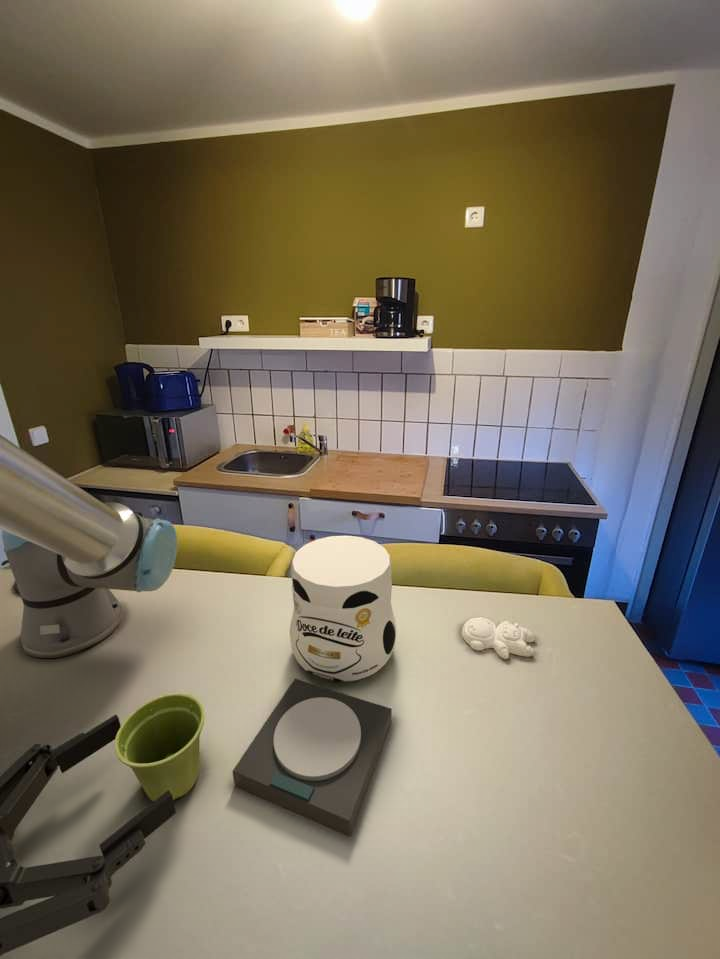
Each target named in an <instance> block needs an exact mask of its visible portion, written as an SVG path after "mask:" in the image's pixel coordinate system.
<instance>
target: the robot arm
mask: <svg viewBox="0 0 720 959" xmlns="http://www.w3.org/2000/svg"><path fill="white" fill-rule="evenodd" d="M0 530H1V539H2V543H3V552H4V553H5V556H6V558H7V559H6V560H3V561H2V562H1V566H5V565H7V564H9V567H10V570H11V573H12V575H13V577H14V580H15V581H14V583H13V588H14V590H15V591H16V592H17V593H19V595H20V597H21V600H22V601H21V602H22V604H23V610H22V618H21V629H20V642H21V646H22V648H23V650H24V652H25V653H26V654H28V656H31V657H33V658H39V659H54V658H61V657H66V656H70V655H73V654H77V653H79V652H82V651H84V650H86V649H89V648H90V647H93V646H95V645H96V644H98V643H100V642H102V641H103V640H105V639H106V638H107V637H109V636H110V635H111V634H112V633H113V632H114V631H115V630H116V629H117V628H118V626H119V625H120V623H121V621H122V619H123V610H122V606H121V604H120V602H119V600H118V598H117V597H116V595H115V594H114V593H113V592H112V591H111V590H117V591H130V592H136V593H142V592H154V591H158V590H159V589H160V588H162V587H163V586H164V585H165V583H167V581H168V579H169V578H170V577H171V574H172V572H173V569H174V566H175V564H176V559H177V555H178V554H177V553H178V534H177V531H176V528H175V526H174V525H173V523H172V522H170V521H169V520H166V519H162V518H159V517H157V518H155V519H152V518H146V517H143V516H141V515H140V514H138V513H137V512H136V511H134V510H133V509H132V508H130V507H129V506H127V505H125V504H123V503H119V502H115V501H114V502H113V501H112V502H109V501H108V502H102V501H100V500H99V499H97V498H96V497H94V496H93V495H92V494H90V493H88V492H87V491H85V490H84V489H82V488H81V487H80V486H78V485H77V484H75V483H73V482H72V481H70V480H69V479H67V478H66V477H65V476H63V475H61V474H60V473H58V472H57V471H55V469H52V468H50V466H48V465H46V464H44V463H43V462H42V461H40V460H39V459H38V458H36V457H35V456H33V455H31V454H30V453H29V452H27V451H25V450H24V449H22V448H21V447H20V446H18V445H16V444H15V443H13V442H12V441H10V440H9V439H8V438H6V437H5V436H3V435H2V434H0ZM121 725H122V724H121V721H120V718H119V716H118V715H117V714H114V715H113V716H111V717H110V718H108V719H106V720H104V721H103V722H101V723H100V724H98V725H96V726H95V727H93V728H91V729H90V730H88V731H87V732H81V733H79V734H76V735H75V736H73V737H72V738H70V739H69V740H67V741H65V742H64V743H62V744H60V745H59V746H57V747H55V748H53V749H52V746H51V744H44V745H42V744H40V743H36V744H34V745H31V747H29V748H28V749H27V750H26V751H25V752H24V753H23V754H22V755H21V756H20V757H18V758H17V760H15V761H14V762H13V763H12V764H11V765H10V766H9V767H7V769H6V770H5V771H4V772H3V773H2V774H0V910H2V909H9V908H14V907H15V908H16V907H19V906H23V905H24V903H25V902H27V901H33V900H39V899H44V900H42V901H38V902H37V903H33V904H32V905H29V906H27V907H24V908H23V909H19V910H17V911H14V912H12V913H9V914H7V915H5V916H2V917H1V918H0V957H1V956H3V955H4V954H6V953H9V952H11V951H14V950H17V949H19V948H21V947H23V946H26V945H27V944H30V943H32V942H34V941H37V940H40V939H42V938H44V937H46V936H48V935H51V934H53V933H56V932H57V931H60V930H62V929H65V928H67V927H69V926H72V925H74V924H76V923H79V922H81V921H83V920H85V919H87V918H90V917H92V916H95V915H98V914H100V913H102V912H103V911H105V910H106V909H107V908H108V906H109V904H110V901H111V897H110V888H111V886H112V882H113V880H112V877H113V876H114V874H115V873H117V872H118V871H119V870H120V869H121V868H122V867H123V866H125V864H127V863H128V862H129V861H130V860H131V859H133V858H134V857H135V856H136V855H137V854H139V853H140V852H141V851H142V850H143V849H144V847H146V844H147V843H146V839H147V838H148V837H149V836H151V835H152V834H153V833H154V832H155V831H156V830H158V829H159V828H160V827H161V826H162V825H164V824H165V823H166V822H167V821H169V819H171V818H172V817H173V816H174V815H176V814H177V809H176V806H175V802H174V801H175V800H173V797H172V794H171V793H170V791H169V790H168V791H167V792H165V793H164V794H163V795H161V796H160V797H159V798H158V799H156V800H155V801H152V802H151V803H150V804H149V805H147V806H146V807H145V808H143V809H142V810H141V811H140V812H139V813H138V814H136V815H135V816H133V817H132V818H131V819H129V821H128V822H126V823H125V824H123V825H122V826H121V827H120V828H118V829H117V830H115V832H113V833H112V834H111V835H110V836H108V837H107V838H106V839H105V840H103V841H102V842H101V843H100V844H98V845H99V848H100V851H101V854H102V855H95V856H90V857H84V858H78V859H77V858H76V859H70V860H64V861H59V862H53V863H45V864H39V865H33V866H27V867H25V866H22V865H20V864H18V862H17V860H16V857H15V850H14V847H13V845H12V842H11V841H12V840H13V838H14V836H15V831H16V829H17V827H18V826H19V825H20V824H21V822H22V821H23V819H24V817H25V816H26V814H27V813H28V811H29V810H30V808H31V807H32V806H33V805H34V803H35V802H36V800H37V799H38V797H39V796H40V795H41V793H42V792H43V791H44V789H45V787H46V786H47V784H48V782H50V781H51V779H52V777H53V776H54V775H55V773H56V772H57V770H58V768H59V770H60V772H61V774H65V773H66V772H67V771H68V770H71V769H72V768H73V767H75V766H76V765H78V764H79V763H81V762H82V761H84V760H85V759H87V758H89V757H91V755H93V754H95V753H96V752H98V751H100V750H101V749H103V748H104V747H106V746H107V745H109V744H110V743H112V742H114V741H115V738H116V735H117V733H118V731H119V729H120V727H121Z"/></svg>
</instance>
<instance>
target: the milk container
mask: <svg viewBox="0 0 720 959" xmlns="http://www.w3.org/2000/svg"><path fill="white" fill-rule="evenodd" d="M290 576H291V581H292V584H291V590H292V591H291V592H292V598H293V599H292V600H293V611H292V615H291V620H290V624H289V640H290V643H291V644H290V645H291V649H292V652H293V654H294V658H295V659H296V661H297V663H298V664H299V665H300V667H302V669H303V670H304V671H305V672H307V673H308V674H309V675H311V676H313V677H315V678H317V679H319V680H322V681H326V682H332V683H336V684H337V683H339V684H340V683H352V682H353V683H354V682H358V681H361V680H364V679H366V678H369V677H372V676H373V675H375V674H376V673H377V672H378V671H380V670H382V669H383V667H384V666H385V665H386V664H387V662H388V661H389V659H390V658H391V657H392V654H393V651H394V648H395V643H396V637H397V621H396V618H395V614H394V611H393V608H392V592H393V583H392V582H393V581H392V560H391V555H390V554H389V552H388V551H387V549H386V547H384V546H383V545H381V544H379V543H378V542H377V541H374V540H371V539H368V538H366V537H364V536H363V537H362V536H355V535H354V536H353V535H331V536H326V537H322V538H317V539H314V540H313V541H310V542H308V543H306V544H304V545H303V546H301V548H299V549H298V550H297V551H296V552H295V554H294V556H293V558H292V560H291V570H290Z"/></svg>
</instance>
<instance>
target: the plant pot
mask: <svg viewBox="0 0 720 959" xmlns="http://www.w3.org/2000/svg"><path fill="white" fill-rule="evenodd" d="M205 716H206V715H205V709H204V706H203V703H202V702H201V701H200V700H199V699H198V698H196V696H193V695H191V694H188V693H180V692H176V693H175V692H174V693H167V694H163V695H160V696H156V697H155V698H152V699H150V700H148V701H146V702H145V703H143V704H142V705H140V706H138V707H137V708H136V709H134V710H133V711H131V713H130V714H129V715H128V716H127V717H126V718H125V720H124V721H123V722H122V723H121V724H120V725H121V727H120V729H119V731H118V733H117V735H116V738H115V740H114V752H115V754H116V757H117V759H118V760H119V761H120V762H121V763H122V764H123V765H125V766H127V767H129V768H130V769H131V770H132V771H133V773H134V774H135V776H136V778H137V780H138V781H139V783H140V786H141V787H142V789H143V790H144V791H143V792H145V794H146V796H147V797H148V799H149V800H150V801H152V802H154V801H155V800H156V799H158V798H159V797H160V796H161V795H163V794H164V793H165V792H167V791H168V790H169V791H170V793H171V794H172V797H173V801H175V800H176V799H178V798H181V797H182V796H185V795H186V794H187V793H189V791H191V789H192V788H193V787H194V785H195V784H196V782H197V780H198V778H199V774H200V769H201V762H200V760H201V759H200V754H201V753H200V752H201V751H200V749H201V748H200V746H201V744H200V743H201V742H200V740H201V739H200V738H201V737H200V736H201V733H202V730H203V727H204V724H205Z"/></svg>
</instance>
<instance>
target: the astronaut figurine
mask: <svg viewBox="0 0 720 959" xmlns="http://www.w3.org/2000/svg"><path fill="white" fill-rule="evenodd" d="M461 635H462V639H464V641H465V642H466V643H467V644H468V645H469V646H470V648H471V649H472V650H474V651H483V650H484V649H485V650H487V649H493V650H494V651H495V652H496V654H497V655H498V657H500V658H502V659H503V660H508V659H509V657H510V654H512V655H517V656H520V657H526V658H529V657H531V656H532V657H533V655H534V653H535V650H534V649H533V648H532V646H531V645H528V643H533V642H534V641H535V640H536V634H535V633H533V631H531V630H529V629H528V628H526V627H522V626H519V622H515V623H514V624H513V623H511V622H510V621H508V620H504V621H501V622H500V623H499V624H498V625H497V626H496V624H495V623H494V622H493V621H492V620H491V619H488V618H486V617H484V616H478V617H472V618H470V619H468V620H467V621H465V623H464V624H463V626H462V630H461Z"/></svg>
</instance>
